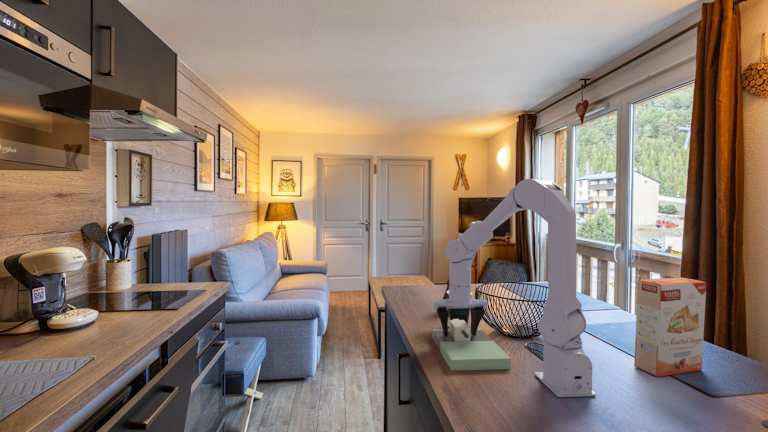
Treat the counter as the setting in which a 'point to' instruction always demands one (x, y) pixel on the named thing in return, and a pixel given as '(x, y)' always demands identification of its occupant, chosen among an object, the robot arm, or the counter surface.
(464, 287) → the robot arm
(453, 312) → the dixie cup
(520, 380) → the counter surface
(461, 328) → the plug
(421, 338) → the counter surface
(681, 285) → the cracker box
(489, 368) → the board
